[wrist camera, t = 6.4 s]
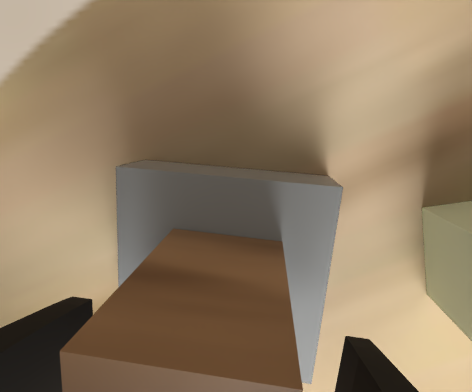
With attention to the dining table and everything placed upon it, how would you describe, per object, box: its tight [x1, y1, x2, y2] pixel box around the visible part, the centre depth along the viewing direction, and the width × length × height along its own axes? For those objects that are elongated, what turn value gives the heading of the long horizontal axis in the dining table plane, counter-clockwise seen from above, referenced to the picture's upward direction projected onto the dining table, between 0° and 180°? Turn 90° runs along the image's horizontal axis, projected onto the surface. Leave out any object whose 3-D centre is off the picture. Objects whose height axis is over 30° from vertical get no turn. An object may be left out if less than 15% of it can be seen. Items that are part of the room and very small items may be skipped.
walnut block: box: [60, 229, 303, 392], centre depth 8 cm, size 4×4×6 cm
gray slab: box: [116, 160, 343, 384], centre depth 12 cm, size 8×8×3 cm
